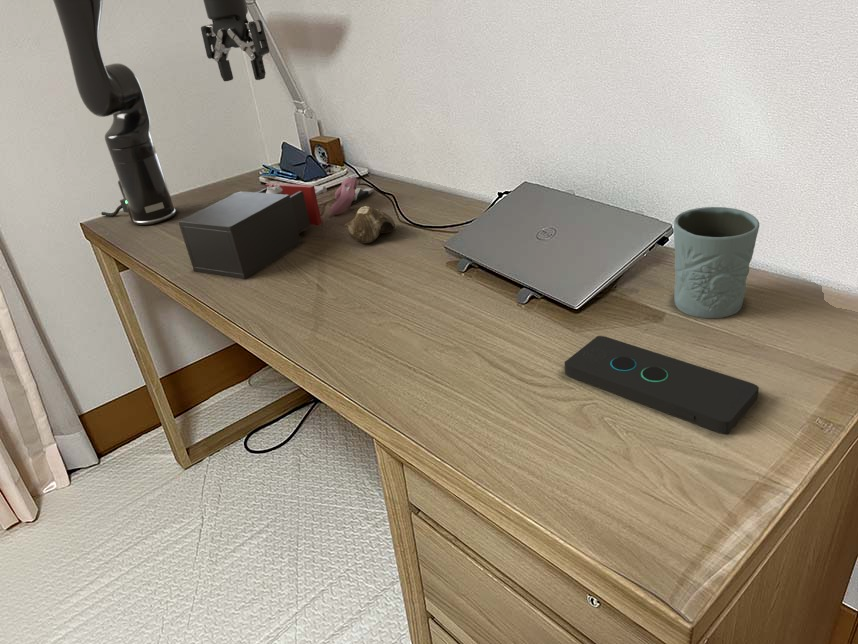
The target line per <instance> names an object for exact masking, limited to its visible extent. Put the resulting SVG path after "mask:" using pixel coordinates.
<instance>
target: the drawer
mask: <svg viewBox="0 0 858 644" xmlns="http://www.w3.org/2000/svg"><path fill="white" fill-rule="evenodd" d="M274 184H276V185H278V184H279V185H280V187H281V188H282V189H283V191H282V193H281V194H285V195H290V199H291V203H292V207H293V211H294V215H295V220H296V224H297V228H298V232H299V234H301V233H302V232H304V231H305V230H307V229H309V228H311V226H321V225H322V224H323V220H322V215H321V212H320V207H319V202H318V198H317V196H319V195H320V194H326V193H327V192H328V191H327V190H328V189H327V187H326V186H325V185H324V186H323V185H313V184H312V185H311V184H296V183H280V182H279V183H278V182H268V183H266V184H265V188H262V189H260V190H258V191H256V192H257V193H266V191H267V187H269V186H270V185H272V187H274ZM277 187H278V186H277ZM269 188H270V187H269Z"/></svg>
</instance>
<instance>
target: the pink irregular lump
mask: <svg viewBox="0 0 858 644" xmlns="http://www.w3.org/2000/svg"><path fill="white" fill-rule="evenodd" d="M356 188H358V178H356V177H354V176H350V177H349V176H347V178H345V179H344V180H342V182H341V185H340V186H339V187H338V188H337V189H336V191H335V193H334V198H335V199H336V200H335V202H334V203H333V204H332V205H331V207H330V214H331V215H333V216H338V215H341V214H343V213H344V212H345V211H346V210H350V209H351V206H352V204H351V203H352V201H353V200H354V199H355V200H356V199H357V195H356V197H355V190H356Z"/></svg>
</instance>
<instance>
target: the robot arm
mask: <svg viewBox="0 0 858 644" xmlns="http://www.w3.org/2000/svg"><path fill="white" fill-rule="evenodd" d="M52 1H53V4H54V7H55V9H56V13H57V15H58V20H59V23H60V26H61V29H62V33H63V35H64V39H65V42H66V47H67V50H68V53H69V55H68V56H69V59H70V63H71V67H72V71H73V77H74V80H75V85H76V87H77V88H76V89H77V91H78V94H79V96H80V99H81V101H82V103H83V105H84V106H85V108H86V109H88V111H89V112H90V113H92V114H93V115H94V116H96V117H100V118H104V117H109V116H112V117H113V119H112V123H111V125H110V127H109V129H108V130H107V131H106V132H105V134H104V141H105V144H106V147H107V150H108V152H109V155H110V158H111V161H112V163H113V166H114V169H115V172H116V175H117V178H118V181H117V184H118V187H119V189H120V192H121V195H122V199H119V202H120V205H118V206H117V207H116V208H115V211H113V212H107V211H102V212H101V216H106V217H114V216H116V215H118V214H119V213H120V210H123V213H128V215H129V218H130V220H131V222H132V223H133V224H134V225H137V226H149V225H155V224H159V223H162V222H165V221H167V220H170V219H171V218H173V217H175V216H176V214H177V211H176V208H175V207H174V203H173V200H172V197H171V193H170V190H169V187H168V184H167V181H166V178H165V174H164V171H163V169H162V166H161V163H160V160H159V156H158V152H157V150H156V146H155V144H154V141H153V138H152V135H151V118H150V115H149V111H148V107H147V103H146V100H145V96H144V93H143V90H142V87H141V86H142V85H141V84H140V81H139V79H138V77H137V75H136V74H135V73H134V71H133V70H131V68H129V66H127V65H125V64H122V63H118V62H117V63H109V64H105V62H104V59H103V55H102V52H101V51H102V50H101V47H100V36H99V35H100V26H101V20H102V13H103V3H104V2H103V1H104V0H52ZM203 5H204V7H205V12H206V15H207V19H209V20H210V21H212V24H210V23H209V24H206V25H202V26H201V27H200V31H201V37H202V40H203V44H204V48H205V54H206V57H207V59H210V60H211V59H212V60H214V61H215V62H216V63H217V66H218V70H219V73H220V77H221V79H222V80H223V82H229V81H233V80H234V75H233V71H232V67H231V63H230V60H229V59H228V57H229V53H230V51H231V50H232V49H233V48H234V49H235V48H236V49H238V48H239V49H240V50H241V51H243V52H245V53H246V54H247V56H248V57H249V58H250V59H251V60H250V64H251V68H252V72H253V77H254V79H255V80H256V81H261V80H264V79H266V69H265V64H264V60H263V57H264V56H265V55H268V54H269V53H270V47H269V43H268V40H267V36H266V32H265V28H264V25H263V21H262V20H261V19H257V20H256V19H255V20H252V21H249V19H248V18H247V14H248V13H249V11H248V6H247V1H246V0H203Z"/></svg>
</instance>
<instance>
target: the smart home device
mask: <svg viewBox="0 0 858 644" xmlns="http://www.w3.org/2000/svg"><path fill="white" fill-rule="evenodd" d="M564 374H565V375H566V376H567V377H569V378H571V379H574V380H577V381H579V382H581V383H585V384H587V385H590V386H593V387H595V388H598V389H601V390H603V391H606V392H607V393H608V392H609V393H612V394H614V395H617V396H619V397H621V398H624V399H627V400H630V401H633V402H635V403H638V404H641V405H643V406H645V407H649V408H651V409H653V410H657V411H659V412H662V413H665V414H667V415H670V416H673V417H676V418H677V419H680V420H683V421H686V422H688V423H692V424H693V425H697V426H699V427H701V428H705V429H708V430H710V431H712V432H716V433H719V434H723V435H727V434H730V432H731V431H732V430H733V429H734V428H735V426H736V425H737V424H738V423H739V422H740V421H741V419H742V418H743V417H744V416H745V415H746V413H747V412H748V411H749V410H750V409H751V408H752V407H753V406H754V404H755V403H756V402H757V401H758V398H759V391H760V386H758V385H757V384H755V383H753V382H750V381H747V380H744V379H741V378H737V377H734V376H731V375H728V374H724V373H721V372H719V371H716V370H712V369H708V368H706V367H702V366H700V365H697V364H693V363H690V362H688V361H687V362H686V361H683V360H680V359H676V358H675V357H672V356H668V355H665V354H662V353H659V352H655V351H652V350H649V349H646V348H643V347H640V346H636V345H633V344H630V343H627V342H624V341H621V340H618V339H616V338H615V339H614V338H612V337H608V336H604V335H597V336H595V337H594V338H593V339H592V340H590V341H589V342H588V343H587V344H585V345H584V346H583V347H581V349H579V350H578V351H576V352H575V353H574V354H573V355H571V356H570V357H569V358H568V359H566V360H565V361H564Z"/></svg>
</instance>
